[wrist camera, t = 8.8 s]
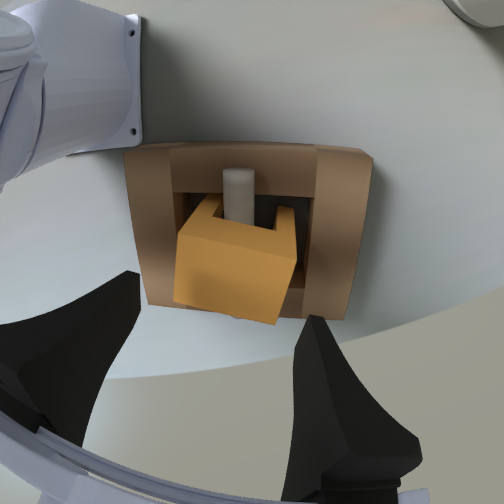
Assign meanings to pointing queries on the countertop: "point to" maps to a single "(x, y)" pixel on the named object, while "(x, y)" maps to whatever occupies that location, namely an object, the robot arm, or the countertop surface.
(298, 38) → the countertop surface
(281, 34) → the countertop surface
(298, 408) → the robot arm
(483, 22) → the travel mug
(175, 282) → the orange notched block
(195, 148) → the square wooden frame
